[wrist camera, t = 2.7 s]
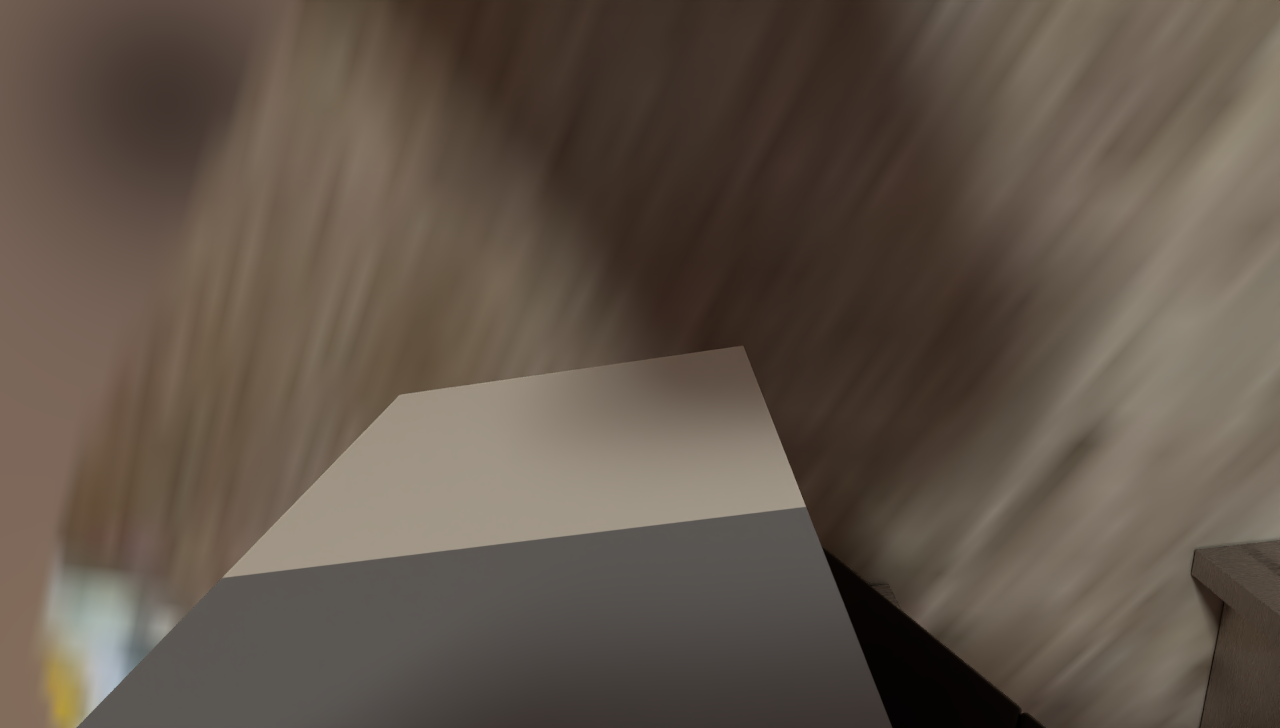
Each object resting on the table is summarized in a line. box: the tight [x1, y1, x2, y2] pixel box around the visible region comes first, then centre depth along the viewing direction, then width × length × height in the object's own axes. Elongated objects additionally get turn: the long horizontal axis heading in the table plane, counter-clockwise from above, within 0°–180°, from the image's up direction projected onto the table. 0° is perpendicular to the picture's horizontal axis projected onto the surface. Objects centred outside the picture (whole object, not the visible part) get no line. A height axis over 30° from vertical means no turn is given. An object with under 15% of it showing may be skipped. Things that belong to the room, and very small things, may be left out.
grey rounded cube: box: [77, 346, 892, 728], centre depth 7 cm, size 5×5×6 cm
